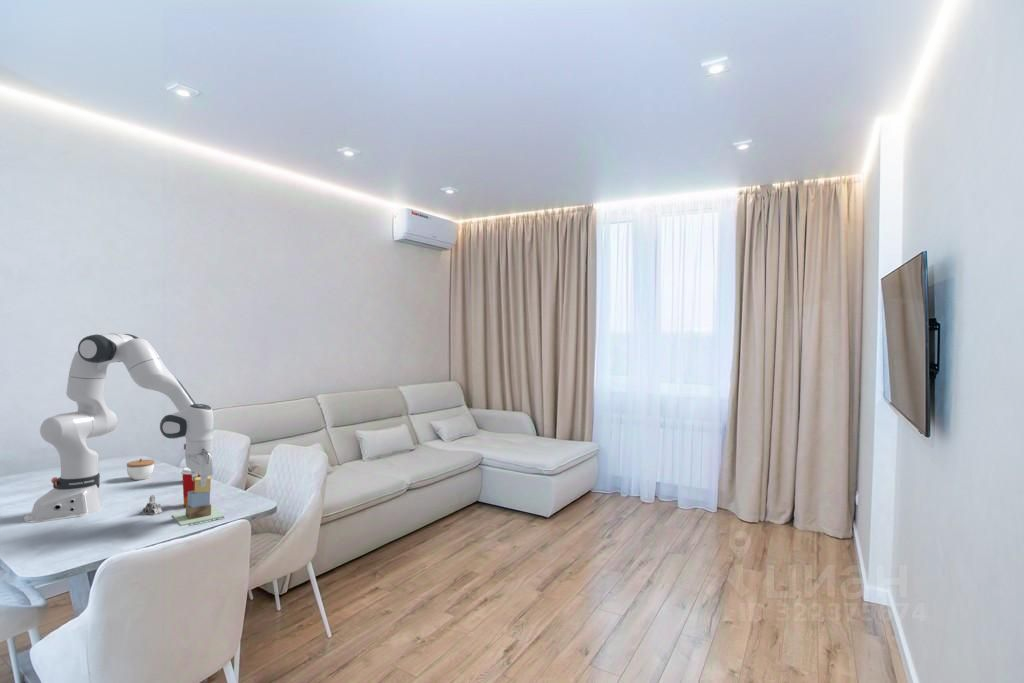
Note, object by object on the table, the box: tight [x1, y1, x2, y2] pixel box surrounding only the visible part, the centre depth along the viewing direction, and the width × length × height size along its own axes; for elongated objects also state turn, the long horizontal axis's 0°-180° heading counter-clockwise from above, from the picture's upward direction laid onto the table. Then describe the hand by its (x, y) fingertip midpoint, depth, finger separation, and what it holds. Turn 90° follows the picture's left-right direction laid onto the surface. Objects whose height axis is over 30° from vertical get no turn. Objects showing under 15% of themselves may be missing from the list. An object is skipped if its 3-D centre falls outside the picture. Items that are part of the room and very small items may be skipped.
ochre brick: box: [195, 476, 212, 493], centre depth 192 cm, size 5×4×5 cm
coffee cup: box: [180, 466, 200, 507], centre depth 205 cm, size 8×8×15 cm
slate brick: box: [187, 491, 211, 508], centre depth 191 cm, size 6×5×5 cm
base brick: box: [185, 503, 212, 519], centre depth 191 cm, size 7×6×4 cm
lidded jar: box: [126, 458, 155, 481], centre depth 240 cm, size 11×11×9 cm
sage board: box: [172, 506, 225, 526], centre depth 191 cm, size 14×14×1 cm
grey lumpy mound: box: [139, 494, 164, 516], centre depth 196 cm, size 9×9×8 cm
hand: (198, 483), depth 191 cm, fingers open, 8 cm apart
